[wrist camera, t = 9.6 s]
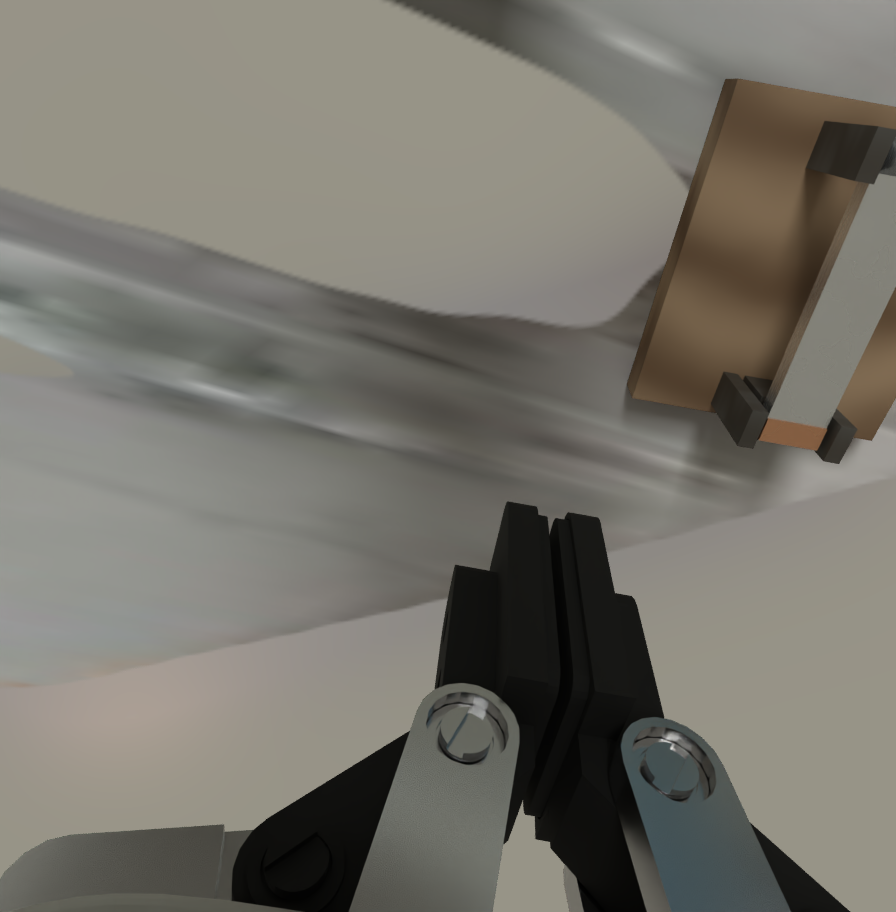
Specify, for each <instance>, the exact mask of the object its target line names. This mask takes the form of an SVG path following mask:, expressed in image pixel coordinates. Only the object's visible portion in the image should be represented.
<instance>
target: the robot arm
mask: <svg viewBox="0 0 896 912" xmlns="http://www.w3.org/2000/svg"><path fill="white" fill-rule="evenodd" d="M522 800H523V807H524V813H525V815H531V816H535V836H536V839H537V840H543V841H548V842H550V846H551V849H552V850H553V851H554V852H555V854H556V855H557V856H558V857H559V858H560V859H561V861H562V862H563V863H564V864H565V866H564V871H563V873H564V886H565V891H566V897H567V902H568V907H569V912H850V911H849V910H848V909H847V908H845V907H844V906H843V905H842V904H841V903H840V902H839V901H838V900H836V899H835V898H834V897H833V896H832V895H831V894H830V893H829V892H827V891H826V890H825V889H824V888H823V887H822V886H821V885H820V884H818V883H817V882H816V881H815V880H814V879H813V878H812V877H811V876H809V875H808V874H807V873H806V872H805V871H804V870H803V869H802V868H800V867H799V866H798V865H797V864H796V863H795V862H794V861H793V860H791V859H790V858H789V857H788V856H787V855H786V854H785V853H784V852H782V851H781V850H780V849H779V848H778V847H777V846H776V845H775V844H774V843H772V842H771V841H770V840H769V839H768V838H767V837H766V836H765V835H763V834H762V833H761V832H760V831H759V830H758V829H757V828H755V827H754V826H753V825H752V824H751V823H750V822H749V820H748V818H747V816H746V813H745V811H744V809H743V807H742V805H741V803H740V800H739V798H738V796H737V794H736V792H735V790H734V787H733V786H732V783H731V781H730V779H729V777H728V774H727V772H726V770H725V768H724V766H723V764H722V762H721V761H720V759H719V757H718V756H717V754H716V753H715V751H714V750H713V749H712V748H711V746H709V744H708V743H707V742H706V741H705V740H704V739H703V738H702V737H700V736H699V735H698V734H696V733H695V732H693V731H692V730H691V729H689V728H688V727H686V726H684V725H681V724H679V723H677V722H675V721H672V720H668V719H664V714H663V711H662V706H661V702H660V698H659V694H658V690H657V686H656V682H655V677H654V673H653V669H652V665H651V661H650V657H649V653H648V649H647V645H646V640H645V636H644V633H643V628H642V624H641V620H640V616H639V612H638V608H637V604H636V602H635V600H634V598H633V597H632V596H628V595H622V594H617V593H615V591H614V586H613V582H612V577H611V572H610V567H609V562H608V557H607V552H606V547H605V543H604V538H603V533H602V528H601V523H600V520H599V518H597V517H592V516H586V515H580V514H575V513H567V515H566V516H565V519H558V518H556V519H555V520H554V522H553V525H552V528H551V531H550V535H549V527H548V518H547V516H541V515H538V509H537V507H536V506H530V505H524V504H519V503H513V502H507V503H506V506H505V509H504V513H503V517H502V521H501V525H500V530H499V534H498V538H497V542H496V546H495V550H494V554H493V558H492V562H491V566H490V571H487V570H481V569H476V568H470V567H465V566H459V565H455V568H454V572H453V576H452V581H451V586H450V591H449V596H448V601H447V606H446V612H445V618H444V623H443V630H442V637H441V644H440V652H439V660H438V668H437V675H436V683H435V690H433V691H432V692H431V693H430V694H429V695H427V696H426V697H425V698H424V699H423V701H422V703H421V704H420V706H419V708H418V710H417V713H416V715H415V718H414V721H413V724H412V727H411V730H410V731H409V732H407V733H405V734H404V735H402V736H401V737H399V738H397V739H396V740H394V741H393V742H391V743H389V744H388V745H386V746H384V747H383V748H381V749H380V750H378V751H376V752H375V753H373V754H371V755H370V756H368V757H367V758H365V759H363V760H362V761H360V762H358V763H357V764H355V765H353V766H352V767H350V768H349V769H347V770H345V771H344V772H342V773H341V774H339V775H337V776H336V777H334V778H332V779H331V780H329V781H327V782H326V783H324V784H323V785H321V786H319V787H318V788H316V789H314V790H313V791H311V792H310V793H308V794H306V795H305V796H303V797H302V798H300V799H298V800H297V801H295V802H293V803H292V804H290V805H289V806H287V807H285V808H284V809H282V810H280V811H279V812H277V813H276V814H274V815H272V816H271V817H269V818H268V819H266V820H265V821H264V822H263V823H262V824H260V825H259V826H258V827H257V828H255V829H254V830H246V831H232V832H225V831H224V825H209V826H194V827H180V828H166V829H151V830H135V831H121V832H105V833H91V834H76V835H68V836H63V837H59V838H55V839H50V840H47V841H45V842H43V843H41V844H40V845H38V846H36V847H35V848H33V849H31V850H29V851H27V852H25V853H24V854H23V855H22V856H21V857H20V858H19V859H18V860H17V861H16V862H15V863H14V864H12V866H10V867H9V868H8V869H7V870H6V871H5V872H4V874H3V875H2V877H1V879H0V912H492V911H493V905H494V899H495V892H496V886H497V880H498V874H499V867H500V861H501V855H502V849H503V844H505V843H506V842H507V841H508V839H509V836H510V834H511V831H512V828H513V825H514V823H515V820H516V817H517V815H518V812H519V809H520V806H521V804H522Z"/></svg>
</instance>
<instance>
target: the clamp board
mask: <svg viewBox="0 0 896 912" xmlns="http://www.w3.org/2000/svg"><path fill="white" fill-rule="evenodd" d="M895 137H896V107H893V106H887V105H882V104H876V103H870V102H865V101H859V100H854V99H848V98H843V97H837V96H832V95H826V94H821V93H815V92H809V91H804V90H798V89H793V88H787V87H782V86H776V85H771V84H765V83H760V82H754V81H748V80H743V79H725V82H724V85H723V88H722V91H721V94H720V98H719V101H718V104H717V107H716V110H715V113H714V116H713V119H712V122H711V125H710V129H709V132H708V135H707V138H706V141H705V144H704V147H703V150H702V153H701V156H700V159H699V163H698V166H697V169H696V172H695V175H694V178H693V181H692V184H691V187H690V190H689V193H688V197H687V200H686V203H685V206H684V209H683V212H682V215H681V218H680V221H679V225H678V228H677V231H676V234H675V237H674V240H673V243H672V246H671V249H670V253H669V255H668V258H667V262H666V265H665V268H664V271H663V274H662V277H661V280H660V283H659V286H658V289H657V292H656V296H655V299H654V302H653V305H652V308H651V311H650V314H649V317H648V320H647V323H646V326H645V330H644V333H643V336H642V339H641V342H640V345H639V348H638V351H637V354H636V357H635V361H634V364H633V367H632V370H631V373H630V376H629V379H628V382H627V386H628V388H629V391H630V393H631V396H632V398H635V399H641V400H646V401H652V402H658V403H663V404H669V405H674V406H680V407H686V408H691V409H697V410H702V411H708V412H714V413H717V414H718V416H719V418H720V419H721V421H722V422H723V424H724V425H725V427H726V429H727V430H728V432H729V433H730V435H731V436H732V438H733V440H734V441H735V443H736V444H737V446H741V447H747V448H752V449H753V448H754V445H755V443H756V441H757V439H758V437H759V435H760V432H761V430H762V428H763V426H764V424H765V421H766V419H767V417H768V415H769V413H768V411H767V410H766V409H765V408H764V406H763V403H764V401H765V398H766V396H767V394H768V391H769V389H770V387H771V384H772V382H773V379H774V377H775V375H776V372H777V370H778V368H779V365H780V363H781V361H782V358H783V356H784V354H785V351H786V349H787V347H788V344H789V342H790V340H791V337H792V335H793V333H794V330H795V328H796V326H797V323H798V321H799V318H800V316H801V314H802V311H803V309H804V307H805V304H806V302H807V300H808V297H809V295H810V293H811V290H812V288H813V286H814V283H815V281H816V279H817V276H818V274H819V272H820V269H821V267H822V264H823V262H824V260H825V257H826V255H827V253H828V250H829V248H830V246H831V243H832V241H833V239H834V236H835V234H836V232H837V229H838V227H839V225H840V222H841V220H842V218H843V215H844V213H845V210H846V208H847V206H848V203H849V201H850V199H851V196H852V194H853V192H854V189H855V187H856V185H857V182H863V183H868V184H874V183H875V181H876V179H877V177H878V175H879V172H880V170H881V168H882V166H883V164H884V161H885V159H886V157H887V155H888V153H889V150H890V148H891V146H892V144H893V142H894V140H895ZM895 398H896V287H895V289H894V291H893V293H892V295H891V297H890V299H889V302H888V304H887V306H886V308H885V310H884V312H883V314H882V316H881V318H880V320H879V322H878V324H877V326H876V328H875V330H874V332H873V334H872V336H871V339H870V341H869V343H868V345H867V347H866V349H865V351H864V353H863V355H862V357H861V359H860V361H859V363H858V365H857V367H856V369H855V371H854V373H853V375H852V378H851V380H850V382H849V384H848V386H847V388H846V390H845V392H844V394H843V396H842V398H841V400H840V402H839V404H838V406H837V408H836V410H835V412H834V415H833V417H832V419H831V421H830V423H829V425H828V427H827V432H826V434H825V436H824V438H823V440H822V442H821V444H820V446H819V448H818V450H817V451H815V450H814V451H815V452H816V453H817V454H818V455H819V457H820V458H821V459H822V460H823V461H825V462H831V463H836V464H839V463H840V461H841V459H842V457H843V456H844V454H845V452H846V450H847V448H848V446H849V445H850V443H851V441H852V439H853V437H854V438H859V439H865V440H870V441H872V439H873V438H874V436H875V434H876V432H877V430H878V429H879V427H880V425H881V423H882V422H883V420H884V418H885V416H886V414H887V413H888V411H889V409H890V407H891V406H892V404H893V402H894V400H895Z"/></svg>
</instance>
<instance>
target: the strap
mask: <svg viewBox="0 0 896 912" xmlns="http://www.w3.org/2000/svg"><path fill="white" fill-rule="evenodd" d="M895 287H896V137H895V140H894V142H893V144H892V146H891V148H890V150H889V153H888V155H887V157H886V159H885V161H884V164H883V166H882V168H881V170H880V172H879V175H878V177H877V179H876V181H875V183H874V184H868V183H863V182H857V185H856V187H855V189H854V192H853V194H852V196H851V199H850V201H849V203H848V206H847V208H846V210H845V213H844V215H843V218H842V220H841V222H840V225H839V227H838V229H837V232H836V234H835V236H834V239H833V241H832V243H831V246H830V248H829V250H828V253H827V255H826V257H825V260H824V262H823V264H822V267H821V269H820V272H819V274H818V276H817V279H816V281H815V283H814V286H813V288H812V290H811V293H810V295H809V297H808V300H807V302H806V304H805V307H804V309H803V311H802V314H801V316H800V318H799V321H798V323H797V326H796V328H795V330H794V333H793V335H792V337H791V340H790V342H789V344H788V347H787V349H786V351H785V354H784V356H783V358H782V361H781V363H780V365H779V368H778V370H777V372H776V375H775V377H774V379H773V382H772V384H771V387H770V389H769V391H768V394H767V396H766V398H765V401H764V403H763V406H764V408H765V409H766V410H767V411H768V413H769V415H768V417H767V419H766V421H765V424H764V426H763V428H762V430H761V432H760V435H759V437H758V439H757V440H759V441H765V442H770V443H776V444H782V445H787V446H793V447H798V448H804V449H810V450H815V451H817V450H818V448H819V446H820V444H821V442H822V440H823V438H824V436H825V434H826V432H827V427H828V425H829V423H830V421H831V419H832V417H833V415H834V412H835V410H836V408H837V406H838V404H839V402H840V400H841V398H842V396H843V394H844V392H845V390H846V388H847V386H848V384H849V382H850V380H851V378H852V375H853V373H854V371H855V369H856V367H857V365H858V363H859V361H860V359H861V357H862V355H863V353H864V351H865V349H866V347H867V345H868V343H869V341H870V339H871V336H872V334H873V332H874V330H875V328H876V326H877V324H878V322H879V320H880V318H881V316H882V314H883V312H884V310H885V308H886V306H887V304H888V302H889V299H890V297H891V295H892V293H893V291H894V289H895Z"/></svg>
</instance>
